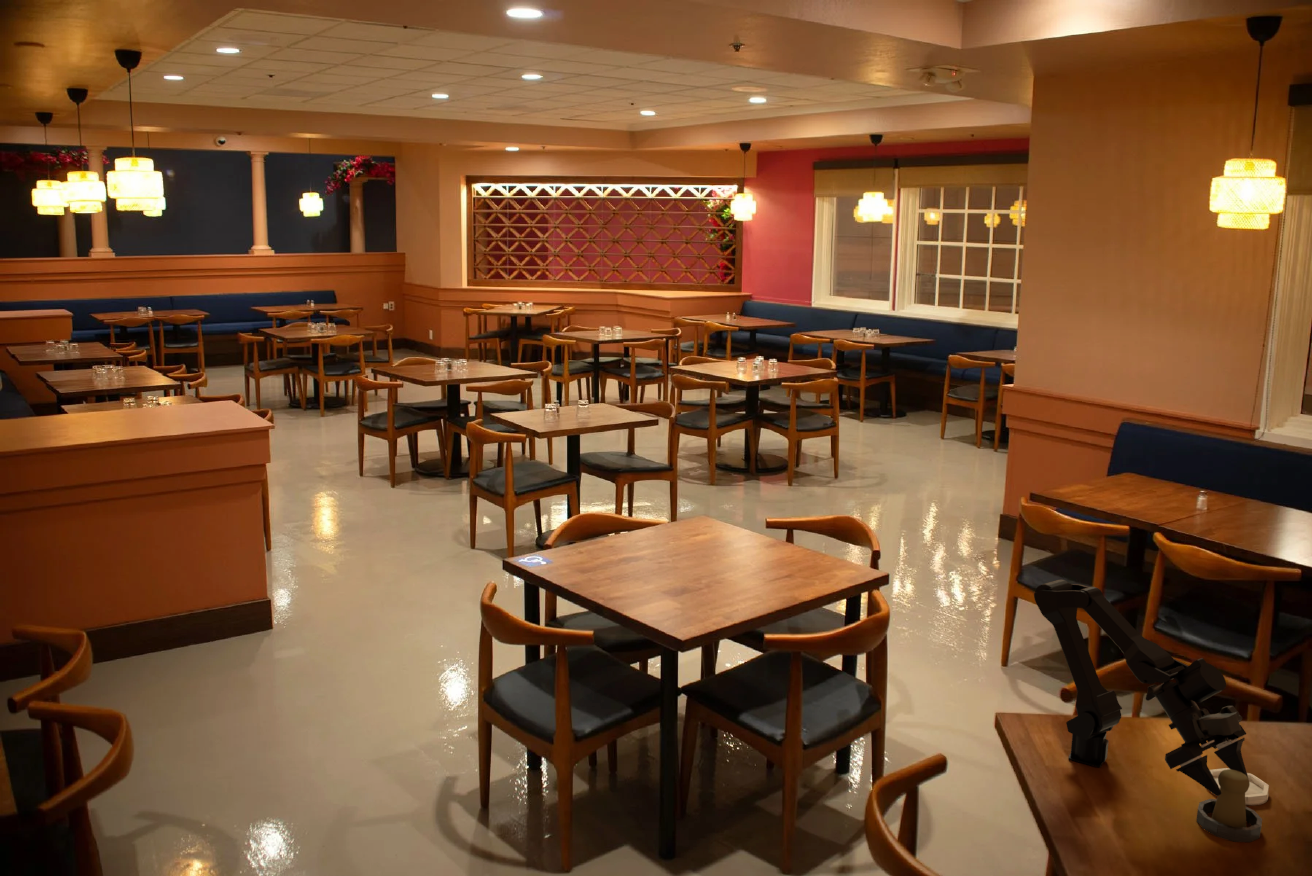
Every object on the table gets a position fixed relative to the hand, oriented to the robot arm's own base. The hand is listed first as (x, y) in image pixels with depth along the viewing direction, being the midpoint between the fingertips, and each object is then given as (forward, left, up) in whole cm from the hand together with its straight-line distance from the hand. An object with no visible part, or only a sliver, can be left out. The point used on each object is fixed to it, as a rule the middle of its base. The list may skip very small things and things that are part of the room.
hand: (1233, 788), depth 198 cm
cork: (0, 0, -8) cm, 8 cm away
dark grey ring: (0, 0, -8) cm, 8 cm away
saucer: (0, +15, -8) cm, 17 cm away
